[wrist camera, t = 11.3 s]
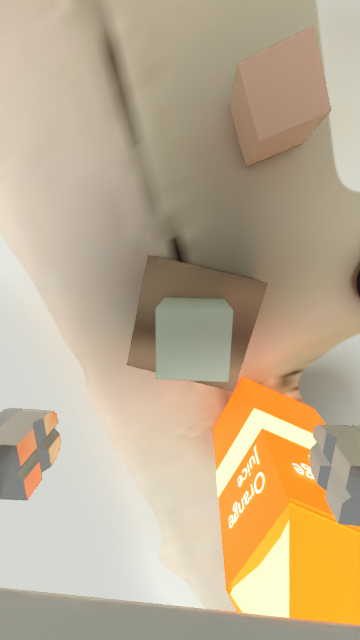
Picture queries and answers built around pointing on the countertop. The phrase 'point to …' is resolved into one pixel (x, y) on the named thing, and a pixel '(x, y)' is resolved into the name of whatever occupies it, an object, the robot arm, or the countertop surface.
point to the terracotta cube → (279, 97)
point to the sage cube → (193, 339)
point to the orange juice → (280, 514)
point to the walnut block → (194, 283)
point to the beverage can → (358, 283)
